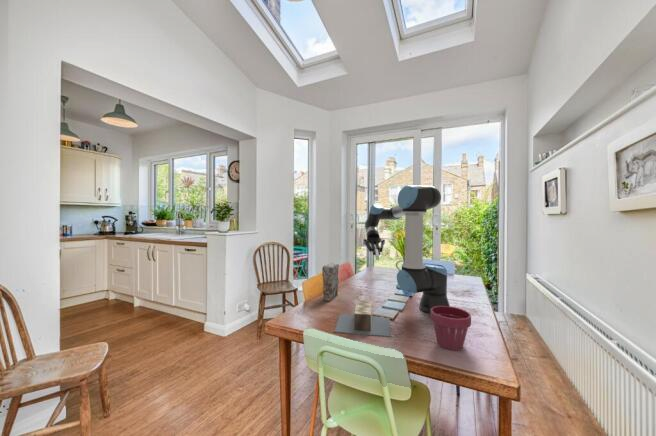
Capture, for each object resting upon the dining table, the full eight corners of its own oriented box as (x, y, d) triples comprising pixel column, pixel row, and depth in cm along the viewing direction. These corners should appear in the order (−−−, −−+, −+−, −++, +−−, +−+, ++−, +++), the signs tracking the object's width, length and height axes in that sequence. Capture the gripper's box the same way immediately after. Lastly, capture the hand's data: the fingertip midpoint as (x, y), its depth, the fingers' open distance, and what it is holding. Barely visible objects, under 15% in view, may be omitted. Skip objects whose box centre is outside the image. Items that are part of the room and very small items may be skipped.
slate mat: (389, 317, 129) (389, 317, 129) (391, 337, 109) (391, 336, 109) (340, 314, 133) (340, 313, 133) (333, 332, 114) (333, 331, 114)
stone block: (333, 301, 152) (333, 267, 152) (322, 300, 154) (322, 266, 154) (339, 294, 165) (339, 262, 164) (328, 293, 167) (328, 262, 166)
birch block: (371, 301, 131) (370, 315, 113) (371, 315, 131) (370, 331, 114) (357, 300, 132) (354, 314, 115) (357, 314, 132) (354, 330, 115)
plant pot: (464, 337, 109) (464, 306, 108) (476, 355, 95) (476, 320, 95) (427, 334, 112) (427, 304, 111) (433, 351, 98) (434, 317, 98)
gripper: (382, 240, 167) (388, 263, 147) (362, 239, 168) (365, 263, 147) (383, 229, 164) (390, 252, 143) (362, 229, 164) (365, 251, 144)
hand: (377, 257), depth 145 cm, fingers closed
